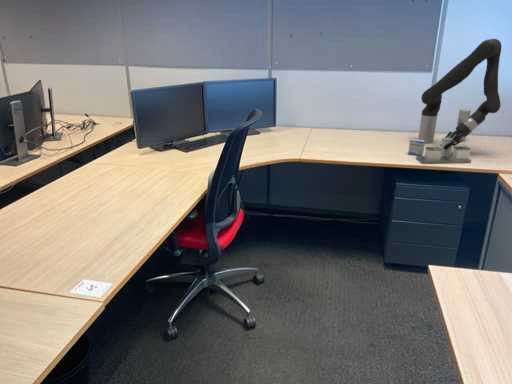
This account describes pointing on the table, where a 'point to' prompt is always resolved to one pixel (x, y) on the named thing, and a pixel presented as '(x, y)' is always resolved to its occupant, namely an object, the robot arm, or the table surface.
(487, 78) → the robot arm
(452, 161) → the grey notched block
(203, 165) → the table surface
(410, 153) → the medicine box
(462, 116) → the spray paint can
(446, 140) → the module
